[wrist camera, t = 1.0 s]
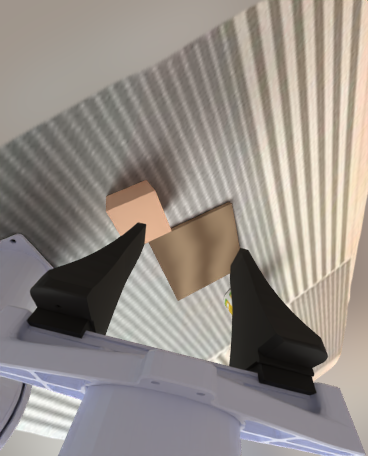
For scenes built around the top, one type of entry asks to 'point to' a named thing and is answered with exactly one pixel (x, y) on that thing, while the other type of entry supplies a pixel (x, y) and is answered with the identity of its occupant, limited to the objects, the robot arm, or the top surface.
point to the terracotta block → (138, 210)
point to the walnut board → (198, 250)
